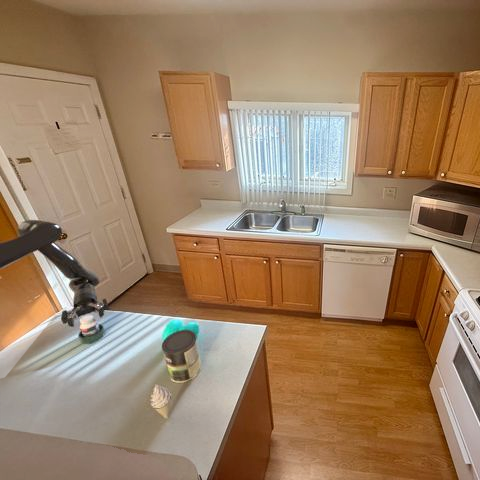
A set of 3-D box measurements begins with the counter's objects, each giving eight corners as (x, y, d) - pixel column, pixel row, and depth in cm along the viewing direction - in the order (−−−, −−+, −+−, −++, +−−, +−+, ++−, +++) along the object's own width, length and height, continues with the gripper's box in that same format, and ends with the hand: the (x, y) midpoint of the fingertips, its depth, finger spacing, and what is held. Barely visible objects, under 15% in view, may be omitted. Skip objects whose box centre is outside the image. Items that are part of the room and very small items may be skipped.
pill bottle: (82, 342, 99) (75, 324, 96) (86, 333, 103) (78, 316, 100) (99, 337, 102) (93, 320, 98) (102, 329, 106) (96, 312, 102)
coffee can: (173, 389, 84) (165, 358, 78) (166, 367, 91) (158, 338, 86) (205, 372, 90) (200, 342, 85) (197, 353, 97) (191, 325, 92)
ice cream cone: (155, 417, 76) (143, 383, 70) (173, 405, 79) (163, 372, 73) (160, 430, 73) (148, 396, 67) (179, 418, 76) (169, 384, 70)
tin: (77, 346, 98) (74, 340, 97) (85, 332, 104) (83, 326, 103) (101, 341, 101) (99, 335, 100) (108, 328, 107) (105, 322, 106)
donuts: (187, 354, 97) (182, 335, 93) (163, 350, 98) (158, 330, 94) (202, 335, 106) (198, 316, 102) (180, 332, 107) (176, 313, 103)
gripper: (59, 299, 104) (57, 320, 93) (103, 287, 113) (107, 305, 102) (66, 313, 107) (65, 336, 96) (108, 300, 116) (112, 320, 105)
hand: (86, 320), depth 99 cm, fingers open, 8 cm apart
